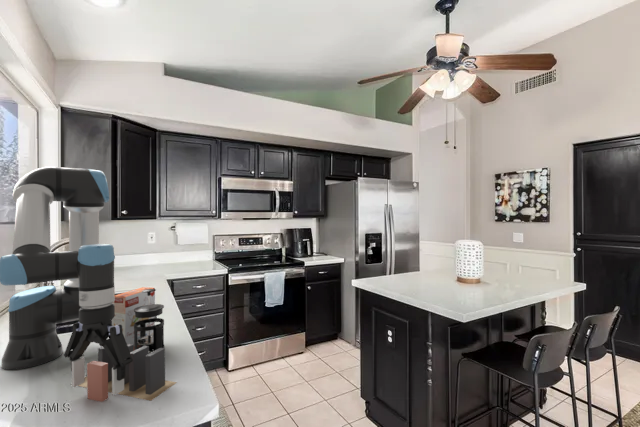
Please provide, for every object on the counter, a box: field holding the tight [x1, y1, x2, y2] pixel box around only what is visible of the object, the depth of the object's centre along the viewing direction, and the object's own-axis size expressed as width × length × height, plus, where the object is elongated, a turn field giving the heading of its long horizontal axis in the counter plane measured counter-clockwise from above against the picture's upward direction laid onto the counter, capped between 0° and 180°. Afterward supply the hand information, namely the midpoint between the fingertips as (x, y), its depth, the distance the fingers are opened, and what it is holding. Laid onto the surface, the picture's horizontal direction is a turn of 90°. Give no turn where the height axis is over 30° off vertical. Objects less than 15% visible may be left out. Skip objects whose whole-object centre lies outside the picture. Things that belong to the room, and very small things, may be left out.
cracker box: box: [111, 286, 156, 348], centre depth 112 cm, size 14×6×21 cm, turn 168°
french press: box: [134, 288, 165, 352], centre depth 105 cm, size 12×9×23 cm
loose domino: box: [86, 360, 109, 403], centre depth 81 cm, size 2×5×10 cm, turn 73°
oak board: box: [70, 375, 178, 402], centre depth 88 cm, size 28×9×1 cm, turn 73°
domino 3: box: [129, 346, 150, 392], centre depth 86 cm, size 2×5×10 cm, turn 163°
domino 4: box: [145, 347, 166, 395], centre depth 85 cm, size 2×5×10 cm, turn 163°
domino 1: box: [97, 346, 113, 382], centre depth 89 cm, size 2×5×10 cm, turn 163°
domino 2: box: [113, 344, 134, 385], centre depth 88 cm, size 2×5×10 cm, turn 163°
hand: (97, 388), depth 81 cm, fingers open, 13 cm apart
